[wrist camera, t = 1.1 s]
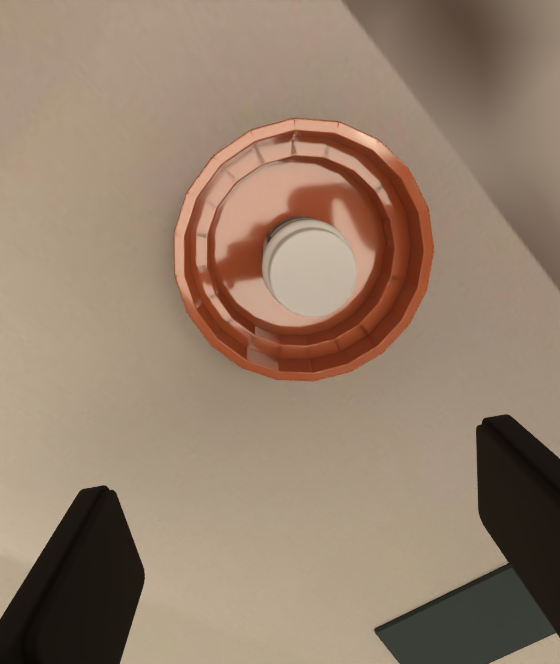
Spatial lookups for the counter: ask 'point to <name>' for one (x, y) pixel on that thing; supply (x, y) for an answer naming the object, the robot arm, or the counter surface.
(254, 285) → the bowl
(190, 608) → the counter surface
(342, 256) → the pill bottle
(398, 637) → the mat
